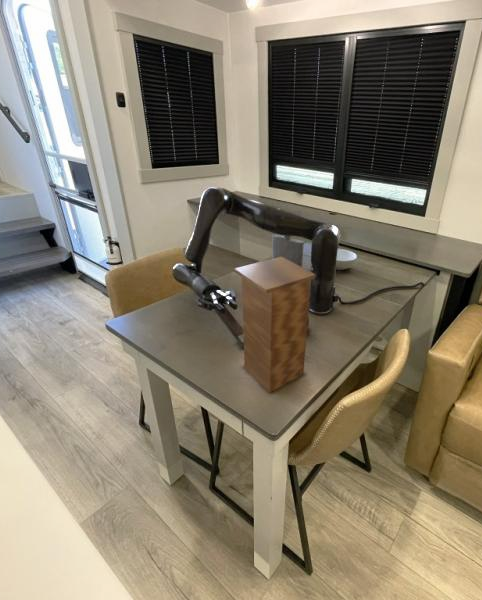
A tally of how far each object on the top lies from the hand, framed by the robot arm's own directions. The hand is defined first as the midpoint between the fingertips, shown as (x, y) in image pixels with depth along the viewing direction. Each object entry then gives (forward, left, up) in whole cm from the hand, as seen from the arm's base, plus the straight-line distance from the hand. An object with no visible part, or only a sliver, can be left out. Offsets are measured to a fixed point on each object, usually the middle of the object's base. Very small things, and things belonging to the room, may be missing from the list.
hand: (229, 309), depth 109 cm
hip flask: (-45, -27, -9) cm, 53 cm away
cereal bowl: (-73, -19, -9) cm, 76 cm away
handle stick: (0, +1, -7) cm, 7 cm away
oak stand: (0, +24, -9) cm, 26 cm away
